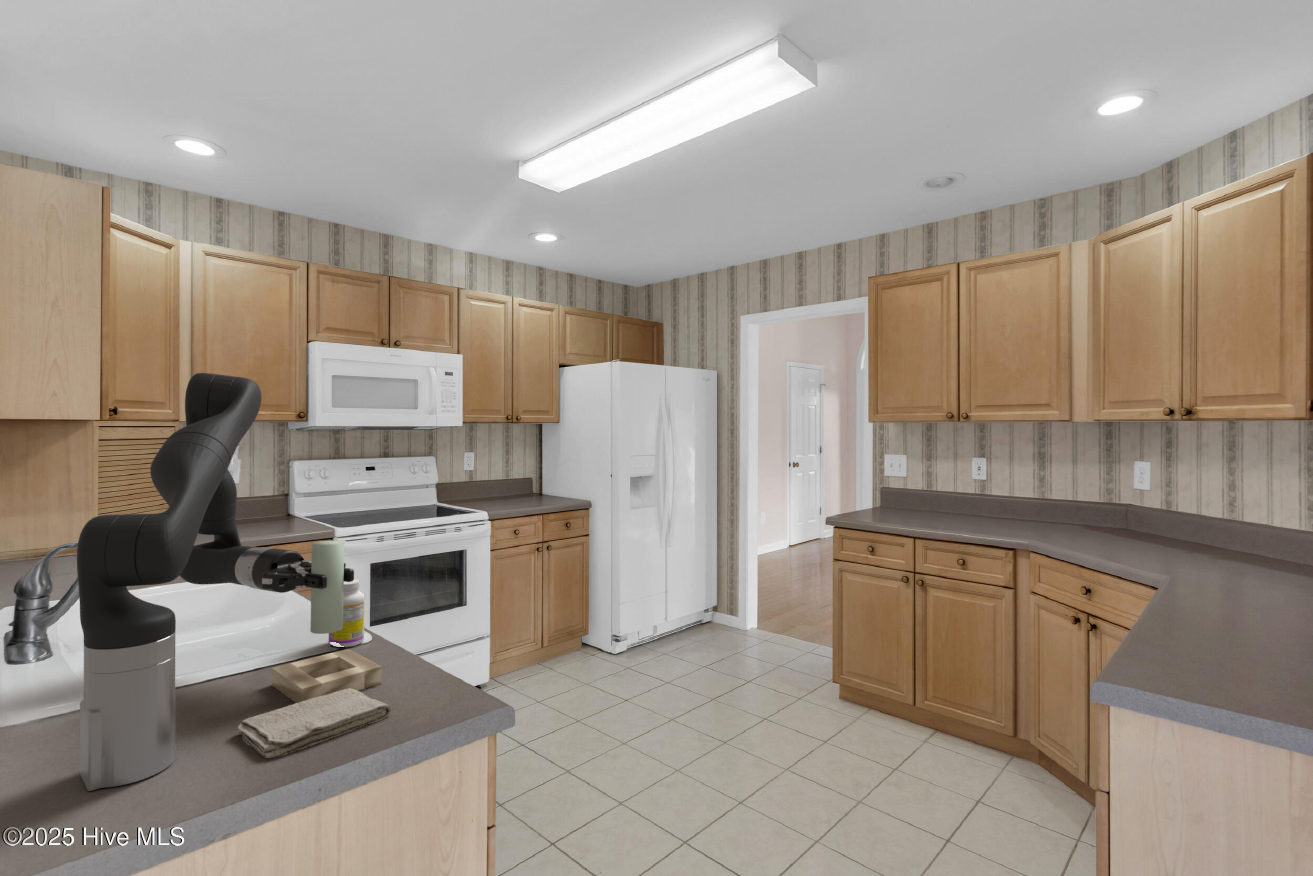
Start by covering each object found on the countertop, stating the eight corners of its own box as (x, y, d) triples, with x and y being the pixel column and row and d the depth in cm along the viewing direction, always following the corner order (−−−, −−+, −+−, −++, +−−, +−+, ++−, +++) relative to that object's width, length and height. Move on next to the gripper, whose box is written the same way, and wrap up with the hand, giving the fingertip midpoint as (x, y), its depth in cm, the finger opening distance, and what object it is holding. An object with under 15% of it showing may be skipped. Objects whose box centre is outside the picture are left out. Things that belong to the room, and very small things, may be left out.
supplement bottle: (331, 639, 134) (332, 578, 134) (366, 636, 136) (366, 576, 136) (325, 650, 128) (326, 586, 127) (361, 647, 130) (362, 584, 129)
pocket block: (302, 707, 102) (302, 688, 102) (271, 685, 110) (271, 667, 110) (381, 683, 112) (381, 666, 112) (348, 664, 120) (348, 648, 120)
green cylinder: (317, 635, 107) (319, 546, 107) (305, 629, 110) (306, 542, 110) (347, 629, 111) (349, 543, 111) (335, 623, 114) (336, 539, 114)
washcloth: (231, 739, 93) (232, 718, 92) (353, 698, 107) (353, 680, 107) (267, 766, 85) (267, 743, 85) (392, 719, 100) (392, 699, 100)
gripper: (231, 555, 109) (302, 564, 103) (305, 542, 123) (372, 550, 116) (230, 598, 110) (301, 611, 103) (304, 581, 123) (371, 591, 116)
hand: (338, 578), depth 110 cm, fingers closed on green cylinder, 5 cm apart
